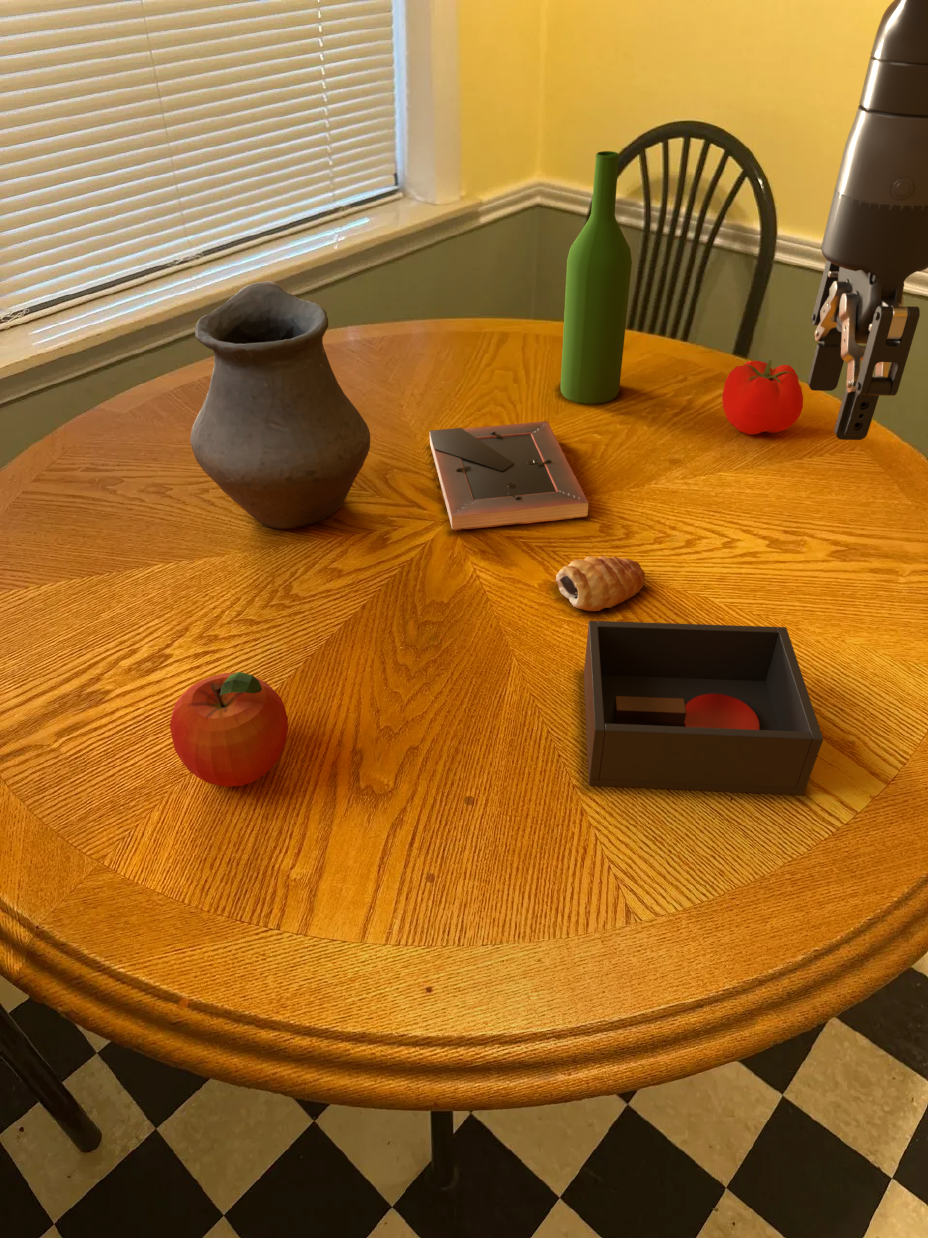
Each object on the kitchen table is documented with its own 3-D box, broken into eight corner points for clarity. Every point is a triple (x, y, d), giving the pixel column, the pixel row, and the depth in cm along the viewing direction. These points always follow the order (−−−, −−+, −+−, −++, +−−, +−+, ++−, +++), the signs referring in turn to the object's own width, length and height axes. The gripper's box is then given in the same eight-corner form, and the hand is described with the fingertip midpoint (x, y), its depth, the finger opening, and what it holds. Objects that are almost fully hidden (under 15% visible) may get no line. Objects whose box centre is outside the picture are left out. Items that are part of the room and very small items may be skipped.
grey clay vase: (207, 565, 98) (152, 352, 82) (211, 471, 114) (165, 280, 99) (386, 541, 101) (367, 331, 85) (364, 453, 117) (345, 264, 102)
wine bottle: (621, 381, 134) (645, 146, 113) (616, 406, 127) (640, 161, 106) (564, 377, 135) (577, 144, 115) (556, 401, 129) (568, 159, 108)
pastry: (623, 563, 97) (627, 535, 94) (657, 597, 92) (662, 568, 89) (550, 585, 94) (551, 556, 91) (581, 621, 89) (584, 592, 87)
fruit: (205, 719, 79) (180, 636, 73) (306, 725, 78) (290, 642, 72) (166, 802, 72) (135, 718, 65) (278, 810, 71) (257, 726, 65)
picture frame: (430, 446, 119) (452, 532, 102) (429, 430, 117) (451, 514, 100) (547, 435, 120) (587, 518, 104) (547, 419, 119) (588, 500, 102)
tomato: (702, 427, 121) (712, 368, 116) (746, 403, 127) (758, 346, 121) (768, 454, 115) (781, 393, 110) (811, 427, 121) (827, 368, 115)
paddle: (750, 701, 78) (755, 682, 77) (764, 755, 73) (770, 736, 72) (611, 695, 79) (613, 676, 78) (615, 749, 74) (618, 730, 73)
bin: (770, 681, 81) (786, 626, 77) (803, 795, 71) (823, 739, 67) (583, 674, 83) (588, 620, 78) (588, 785, 72) (594, 729, 68)
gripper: (998, 215, 51) (913, 457, 62) (919, 161, 62) (858, 374, 73) (868, 215, 52) (805, 455, 62) (812, 161, 63) (767, 373, 73)
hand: (834, 411), depth 67 cm, fingers open, 8 cm apart
